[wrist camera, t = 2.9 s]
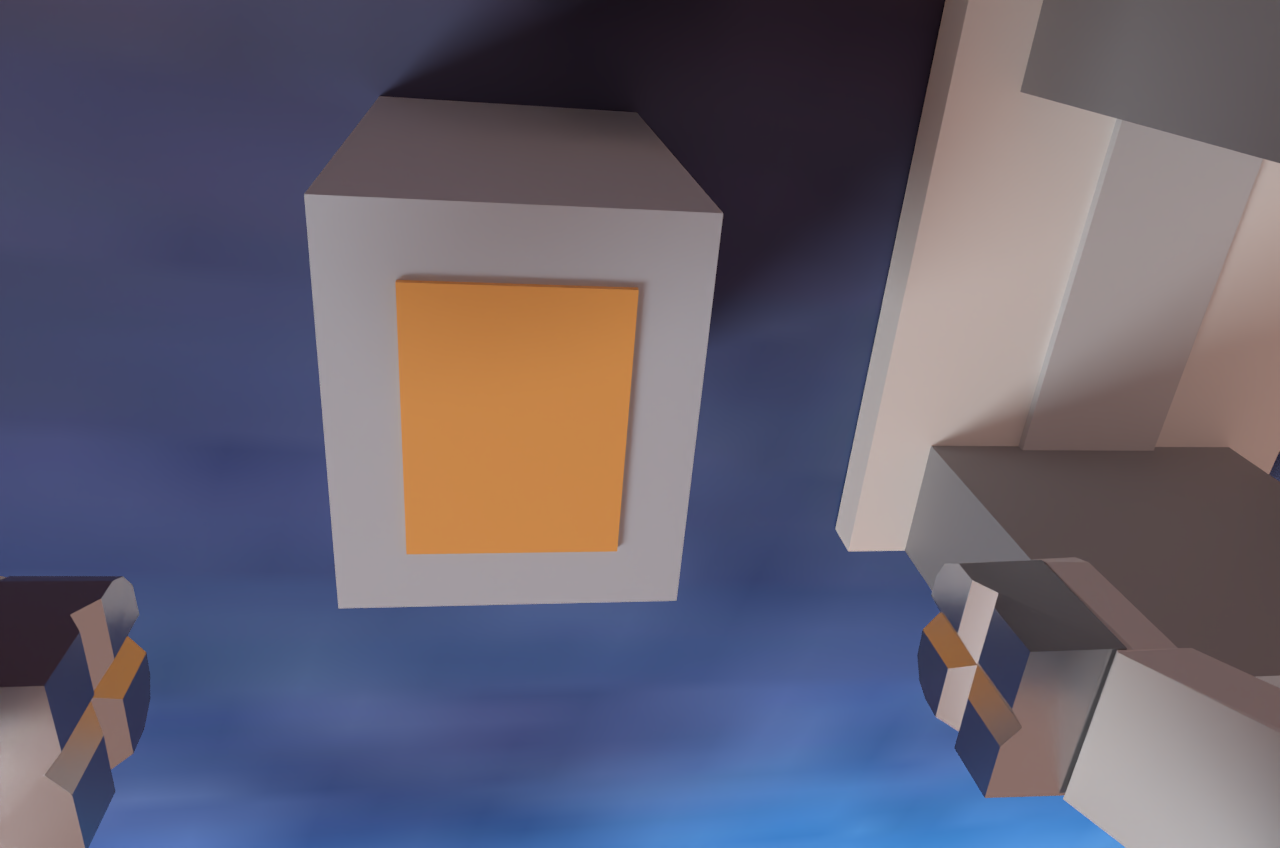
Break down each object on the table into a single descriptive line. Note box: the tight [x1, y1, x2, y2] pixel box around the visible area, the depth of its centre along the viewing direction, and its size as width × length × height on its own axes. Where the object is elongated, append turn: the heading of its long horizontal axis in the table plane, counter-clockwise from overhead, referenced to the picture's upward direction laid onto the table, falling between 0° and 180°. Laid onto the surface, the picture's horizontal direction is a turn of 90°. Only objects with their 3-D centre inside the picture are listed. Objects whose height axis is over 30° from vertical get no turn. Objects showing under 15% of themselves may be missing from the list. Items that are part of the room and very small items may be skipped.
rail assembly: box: [835, 0, 1280, 688], centre depth 18 cm, size 14×11×9 cm
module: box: [304, 96, 723, 608], centre depth 16 cm, size 6×5×8 cm
